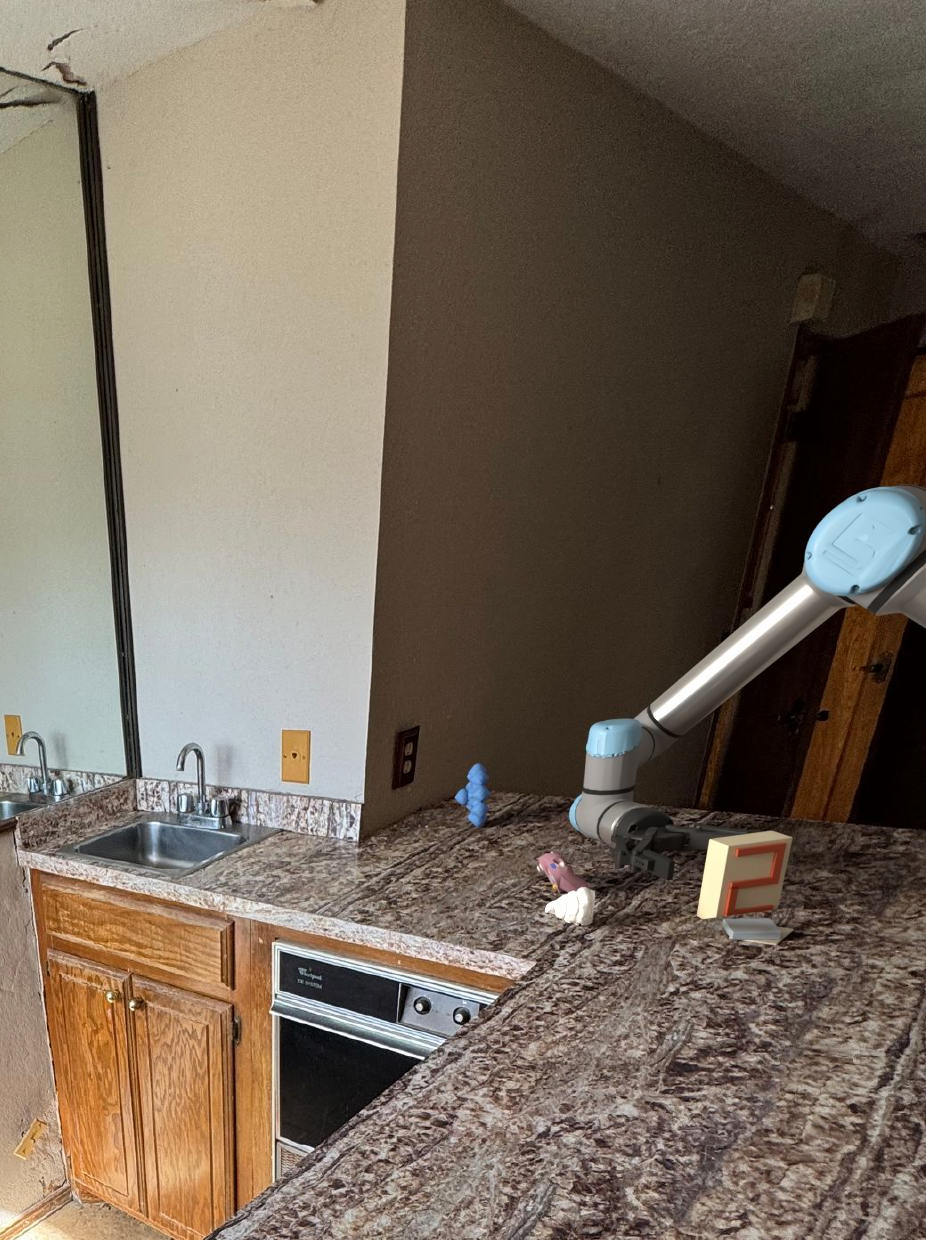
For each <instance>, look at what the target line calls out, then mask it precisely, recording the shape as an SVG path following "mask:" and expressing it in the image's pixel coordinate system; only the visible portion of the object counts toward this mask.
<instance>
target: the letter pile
mask: <svg viewBox="0 0 926 1240" xmlns="http://www.w3.org/2000/svg"><path fill="white" fill-rule="evenodd" d="M721 926H722V928H723V930H724V931H725V932H726V934H727V935H728V936H729V937H728V939H730V940H732V941H733V940H736V941H743V942H751V943H756V944H765V945H772V946H778V945H779V944H780V943H781V942H782V941H783V940H784V939H785V938H787V937H788V936H789V935H790V934H791V933H792V932H793V931H795V930H794V928H790V927H783V926H778V925H776V923H775V921H773V920H772V919H771V918H769V917H768V918H767V917H764V918H723V920H722V925H721Z"/></svg>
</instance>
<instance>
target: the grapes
mask: <svg viewBox="0 0 926 1240" xmlns="http://www.w3.org/2000/svg"><path fill="white" fill-rule="evenodd" d="M487 772H488V770H487V768H486V767H484V765H483V764H482V763H479V762H478V763H475V764H474V765H472V767H471V768H470V770H469V771H468V774H467V775H466V778H467V779H468V781H469V782H467V784H466V786H465V788H461V789H459V790H458V792H457V793H456V794H455V796H454V799H455V800H456V802H457V803H458V804H460V805H461V806H464V805H465V807H466V809H468V811H470V812H469V814H468V815H467V819H468V820H469V821H470V823H471V824H472V825H474V826H475V827H477V828H479V827H481V826H483V825H484V824H485V822H486V821H487V820H488V816H487V813H488V812H489V811H490V807H489V806H488V805H487V804H486V802H487V801H488V799H489V798H490V796H491V792H490V790H489V789H488V788H487V787H486V783H487V782H488V781H489V779H490V777H489V775H488V774H487Z"/></svg>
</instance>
